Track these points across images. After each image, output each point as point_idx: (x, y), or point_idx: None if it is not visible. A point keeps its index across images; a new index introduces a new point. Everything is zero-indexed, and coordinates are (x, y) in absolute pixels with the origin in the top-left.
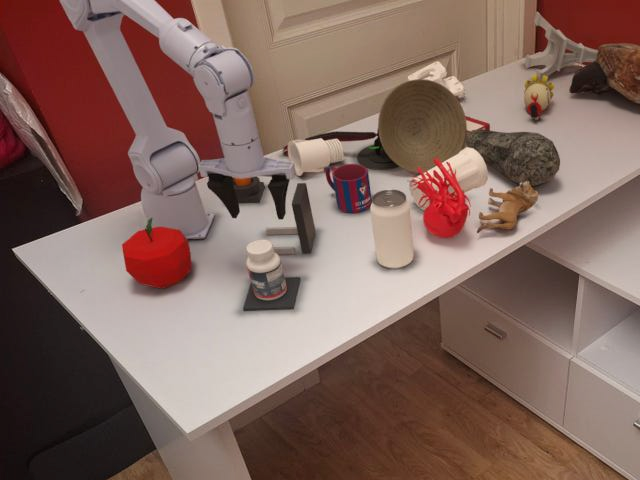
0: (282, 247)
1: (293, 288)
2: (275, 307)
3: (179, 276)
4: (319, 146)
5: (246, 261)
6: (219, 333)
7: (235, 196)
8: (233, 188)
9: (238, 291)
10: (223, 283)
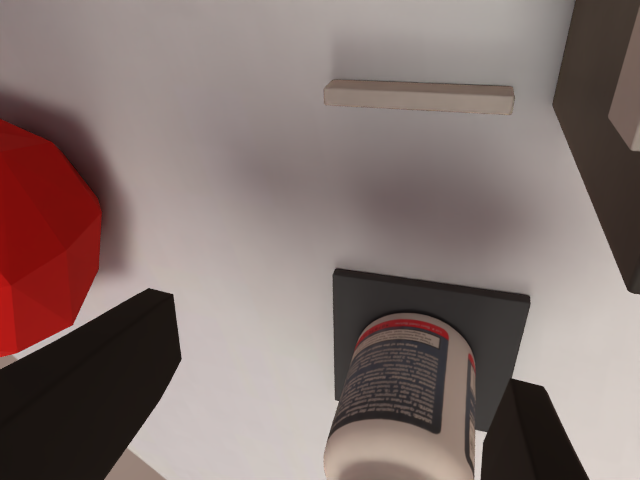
0: (444, 98)
1: (500, 359)
2: None
3: (92, 278)
4: None
5: (325, 474)
6: (295, 444)
7: (81, 378)
8: (11, 440)
9: (298, 309)
10: (235, 260)
